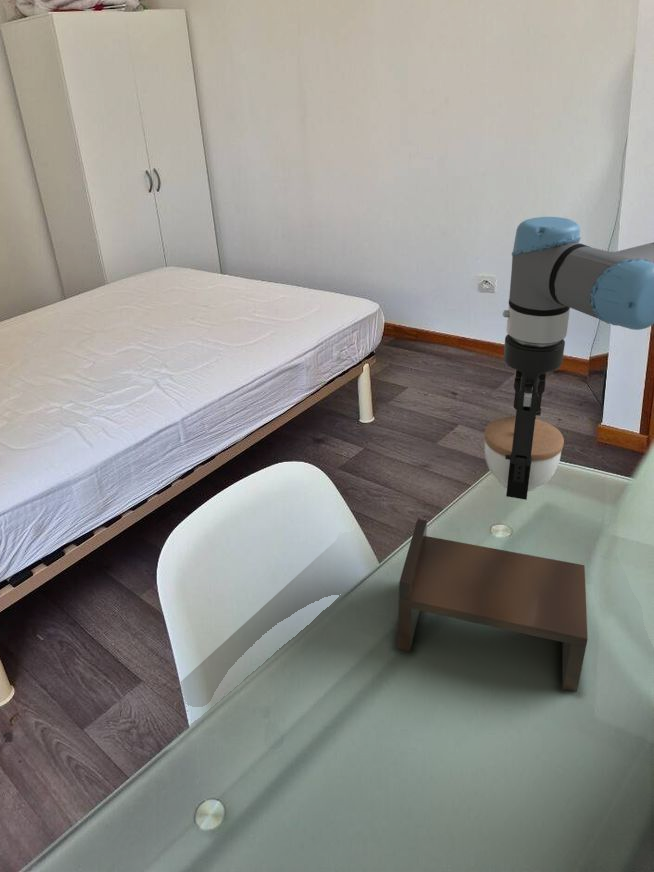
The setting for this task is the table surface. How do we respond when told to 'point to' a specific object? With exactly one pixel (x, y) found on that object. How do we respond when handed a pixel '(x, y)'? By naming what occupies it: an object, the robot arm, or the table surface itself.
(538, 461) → the trinket box
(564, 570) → the shelf
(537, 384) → the robot arm
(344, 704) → the table surface
